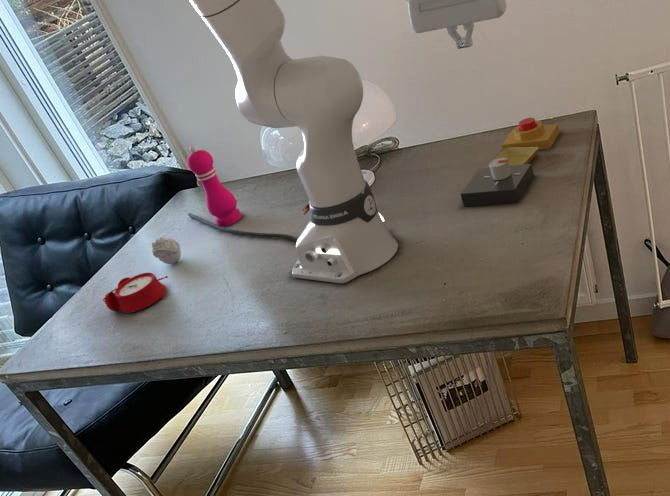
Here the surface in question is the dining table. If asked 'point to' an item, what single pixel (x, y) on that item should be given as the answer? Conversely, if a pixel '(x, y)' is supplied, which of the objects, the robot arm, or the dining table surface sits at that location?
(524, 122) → the stop button
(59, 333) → the dining table surface
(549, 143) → the yellow button base
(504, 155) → the yellow square tray
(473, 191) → the panel
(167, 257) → the white lumpy rounded piece
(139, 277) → the alarm clock
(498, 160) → the knob
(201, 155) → the pepper mill
